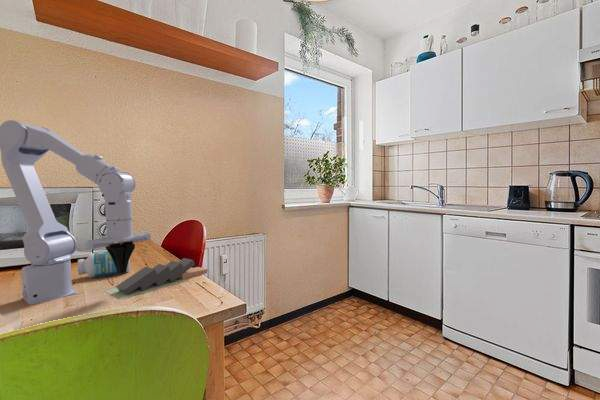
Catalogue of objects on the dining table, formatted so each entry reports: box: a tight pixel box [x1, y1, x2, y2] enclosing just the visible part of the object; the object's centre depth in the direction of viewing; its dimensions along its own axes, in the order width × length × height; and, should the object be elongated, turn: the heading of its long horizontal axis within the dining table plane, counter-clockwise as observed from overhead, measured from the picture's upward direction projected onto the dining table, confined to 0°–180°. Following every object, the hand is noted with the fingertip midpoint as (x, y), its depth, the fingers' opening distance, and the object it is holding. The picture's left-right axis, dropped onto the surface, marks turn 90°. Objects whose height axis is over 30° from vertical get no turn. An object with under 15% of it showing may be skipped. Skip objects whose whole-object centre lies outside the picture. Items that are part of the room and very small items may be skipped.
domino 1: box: [115, 266, 157, 295], centre depth 79 cm, size 2×5×8 cm
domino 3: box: [152, 260, 183, 286], centre depth 86 cm, size 2×5×8 cm
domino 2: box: [137, 263, 170, 291], centre depth 82 cm, size 2×5×8 cm
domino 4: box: [166, 257, 196, 282], centre depth 89 cm, size 2×5×8 cm
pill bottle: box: [77, 251, 131, 278], centre depth 94 cm, size 8×7×14 cm
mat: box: [104, 278, 188, 300], centre depth 83 cm, size 18×10×1 cm, turn 143°
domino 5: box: [178, 266, 208, 280], centre depth 92 cm, size 2×5×8 cm
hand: (121, 272), depth 76 cm, fingers closed
